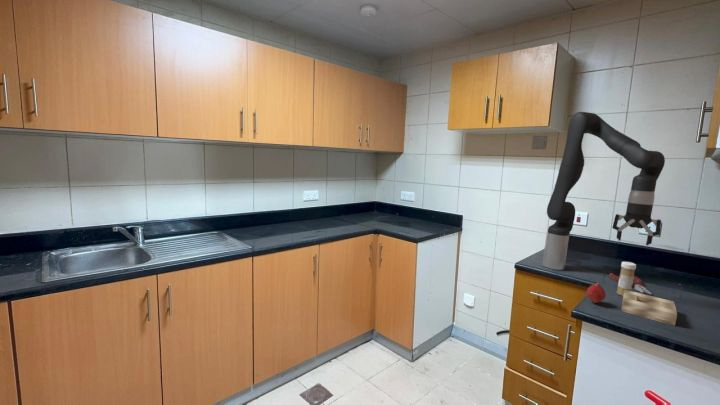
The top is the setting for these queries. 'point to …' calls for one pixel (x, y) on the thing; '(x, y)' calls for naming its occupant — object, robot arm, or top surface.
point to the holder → (649, 307)
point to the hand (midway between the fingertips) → (633, 242)
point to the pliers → (639, 286)
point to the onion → (596, 293)
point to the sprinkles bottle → (626, 277)
